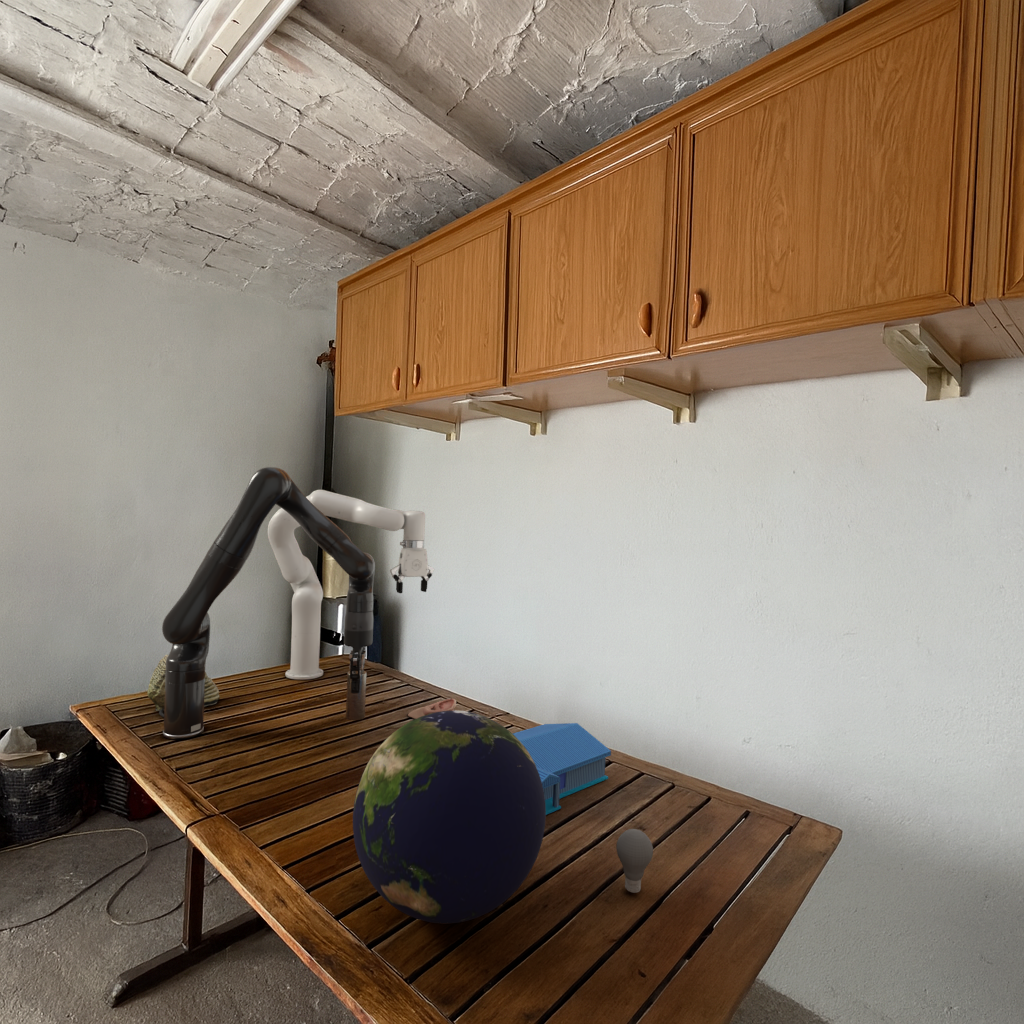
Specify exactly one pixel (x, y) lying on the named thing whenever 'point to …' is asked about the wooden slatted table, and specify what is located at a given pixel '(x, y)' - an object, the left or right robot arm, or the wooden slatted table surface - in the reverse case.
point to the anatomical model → (434, 708)
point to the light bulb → (634, 857)
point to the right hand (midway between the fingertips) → (411, 592)
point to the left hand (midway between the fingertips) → (356, 689)
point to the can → (356, 698)
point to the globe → (449, 817)
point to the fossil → (158, 687)
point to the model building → (564, 759)
